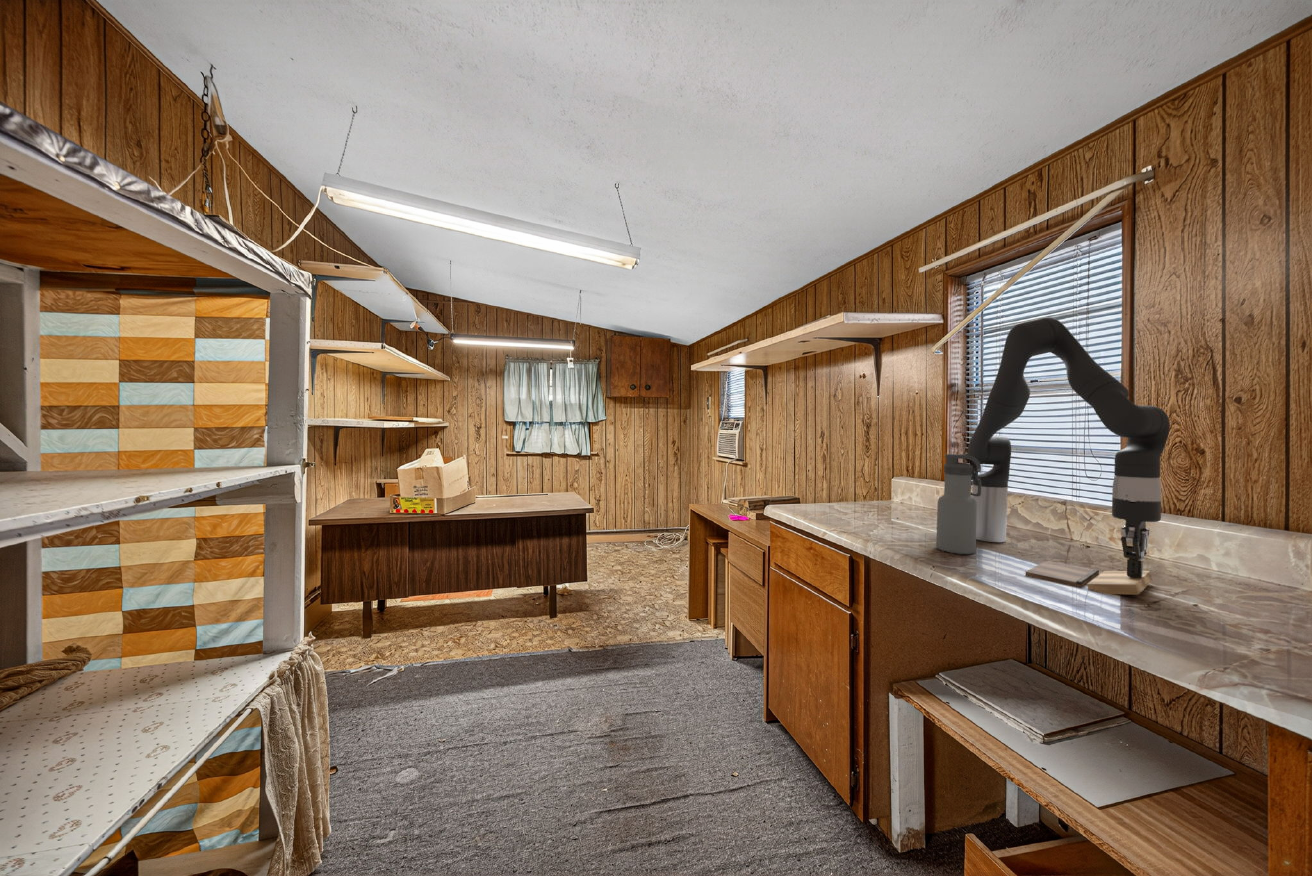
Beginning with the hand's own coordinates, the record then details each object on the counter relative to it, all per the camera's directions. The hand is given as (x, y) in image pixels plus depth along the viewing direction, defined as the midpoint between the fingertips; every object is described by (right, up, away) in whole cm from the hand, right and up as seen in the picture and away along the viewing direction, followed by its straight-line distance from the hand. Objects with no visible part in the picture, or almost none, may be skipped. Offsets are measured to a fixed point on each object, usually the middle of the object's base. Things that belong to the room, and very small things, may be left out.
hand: (1134, 577), depth 104 cm
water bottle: (-16, -3, +36) cm, 39 cm away
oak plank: (-1, -3, +2) cm, 3 cm away
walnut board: (-7, -3, +10) cm, 13 cm away
